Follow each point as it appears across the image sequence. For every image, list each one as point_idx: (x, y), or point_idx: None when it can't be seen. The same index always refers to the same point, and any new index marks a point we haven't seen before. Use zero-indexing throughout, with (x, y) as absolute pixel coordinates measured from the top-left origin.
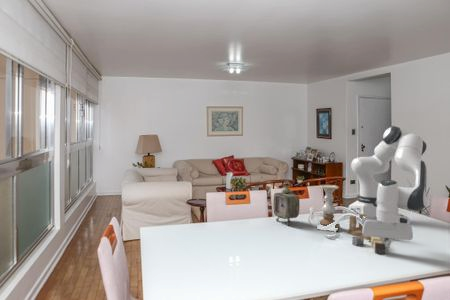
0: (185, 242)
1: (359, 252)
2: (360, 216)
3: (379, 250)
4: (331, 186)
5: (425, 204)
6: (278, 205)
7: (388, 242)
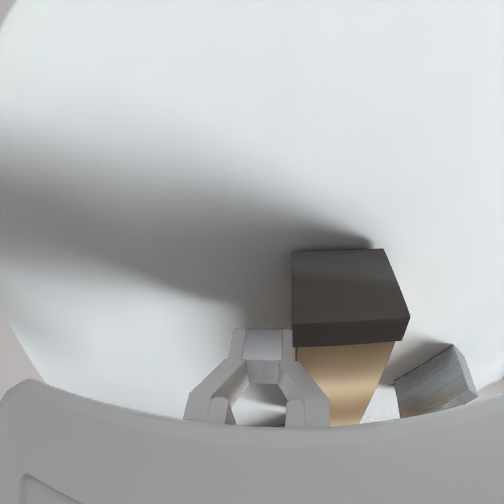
0: None
1: (500, 229)
2: None
3: (350, 267)
4: None
5: None
6: None
7: (240, 384)
